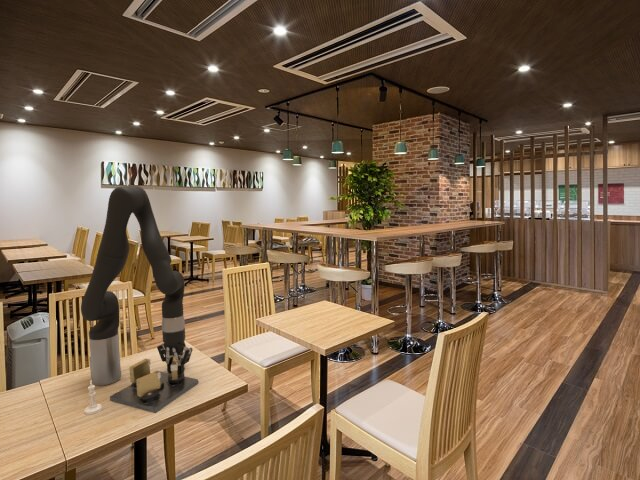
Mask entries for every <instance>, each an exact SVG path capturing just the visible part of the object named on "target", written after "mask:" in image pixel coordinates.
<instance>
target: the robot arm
mask: <svg viewBox="0 0 640 480" xmlns="http://www.w3.org/2000/svg"><path fill="white" fill-rule="evenodd" d="M132 214H133V215H134V216H135V218H136V220H137V222H138V225H139V228H140V238H141V247H142V250H143V253H144V255H145V257H146V259H147V261H148V264H149V265H150V266H151V267H150V268H151V269H152V270H151V271H152V276H153V279H154V283H155V286H156V288H157V289H158V290H159V292H160V293H162V294H163V295H164V298H163V301H161V317H162V318H161V331H162V332H161V334H162V342H163V343H161V344H159V345H157V346H156V348H157V352H158V354H159V356H160V358H161V359H160V360H161V361H162V362H163V363H164V362H165V364H166V369H167V373H169V374H171V373H172V371H171V364H172V361H173V358H174V356H175V359H176V360H177V363H178V375H182V374H183V373H184V374H185V365H186V364H188V362H190V359H191V356H192V353H193V348H192V347H187V345H186V343H185V340H186V326H185V325H186V323H185V316H184V303H183V302H184V293H185V283H186V282H185V277H184V276H183V274H182V273H181V272H180V271H178V270H173V269H172V266H171V263H172V257H171V255H170V253H169V251H168V249H167V246H166V245H165V243H164V240H163V238H162V236H161V234H160V231H159V228H158V225H157V222H156V218H155V215H154V214H155V213H154V211H153V208H152V205H151V200H150V198H149V195H148V193H147V192H146V190H145V189H144V188H143V187H141V186H139V185H122V186H117V187H116V188H114V189H112V192H110V196H109V197H108V203H107V211H106V217H105V224H104V227H103V228H104V229H103V232H102V236H101V240H100V244H99V248H98V250H97V254H96V259H95V263H94V266H93V270H92V273H91V277H90V280H89V283H88V286H87V288H86V290H85V292H84V295H83V296H82V297H83V298H82V299H81V304H80V312H81V316H82V317H83V319H84V320H86V321H88V322H94V321H95V322H96V321H97V322H96V323H95V324H94V325H93V326H92V327H91V328H90V329H89V331H88V339H89V351H90V356H89V369H90V370H89V371H90V380H92V385H95V386H99V387H100V386H107V385H108V386H109V385H111V384H113V383H114V384H115V383H116V382H118V381H119V380H121V378H122V367H121V355H120V354H121V353H120V341H119V327H120V302H119V299H118V296H117V295H116V293H114V292H113V291H109V290H108V289H109V288H110V286H111V284H112V283H113V282H114V281H115V279H116V278H117V277H118V276H119V275H120V273H121V272H122V271H123V269H124V268H125V266H126V263H127V259H128V256H129V253H130V244H129V243H130V242H129V239H128V236H127V228H128V224H129V220H130V218H131V215H132ZM179 355H180V356H179ZM180 359H181V360H180Z"/></svg>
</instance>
